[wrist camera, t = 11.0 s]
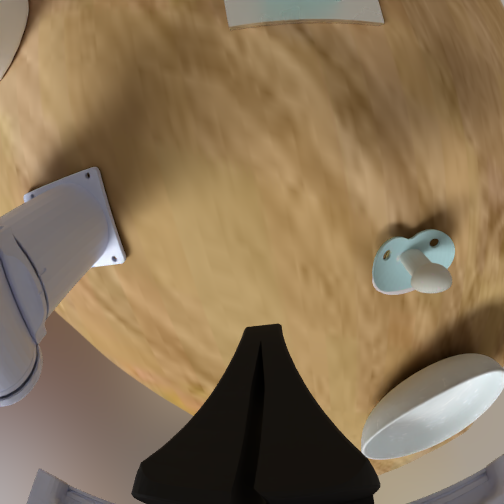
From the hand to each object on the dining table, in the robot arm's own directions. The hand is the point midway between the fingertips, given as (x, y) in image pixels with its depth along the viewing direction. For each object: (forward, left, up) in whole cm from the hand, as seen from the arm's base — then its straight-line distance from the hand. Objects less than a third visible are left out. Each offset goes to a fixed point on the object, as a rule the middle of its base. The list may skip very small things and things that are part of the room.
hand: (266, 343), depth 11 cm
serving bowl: (+19, -24, -10) cm, 33 cm away
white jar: (-23, +26, -10) cm, 36 cm away
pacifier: (+11, -4, -11) cm, 16 cm away
